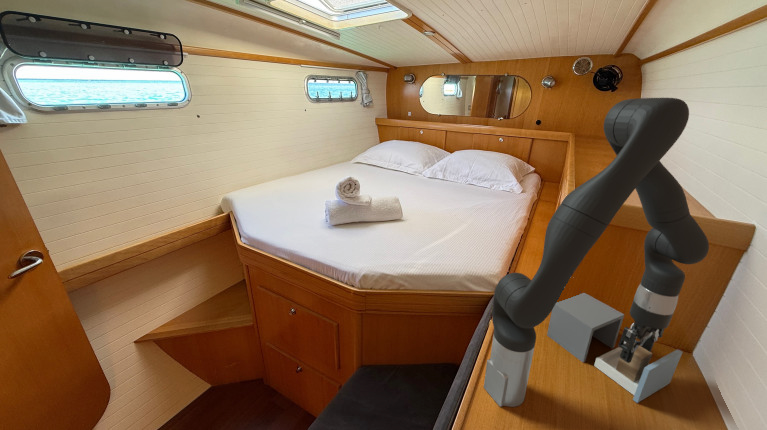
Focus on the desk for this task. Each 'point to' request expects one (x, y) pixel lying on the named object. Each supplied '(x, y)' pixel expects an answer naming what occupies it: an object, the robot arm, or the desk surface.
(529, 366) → the robot arm
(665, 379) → the drawer
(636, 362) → the block
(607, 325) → the cabinet
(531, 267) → the desk surface
